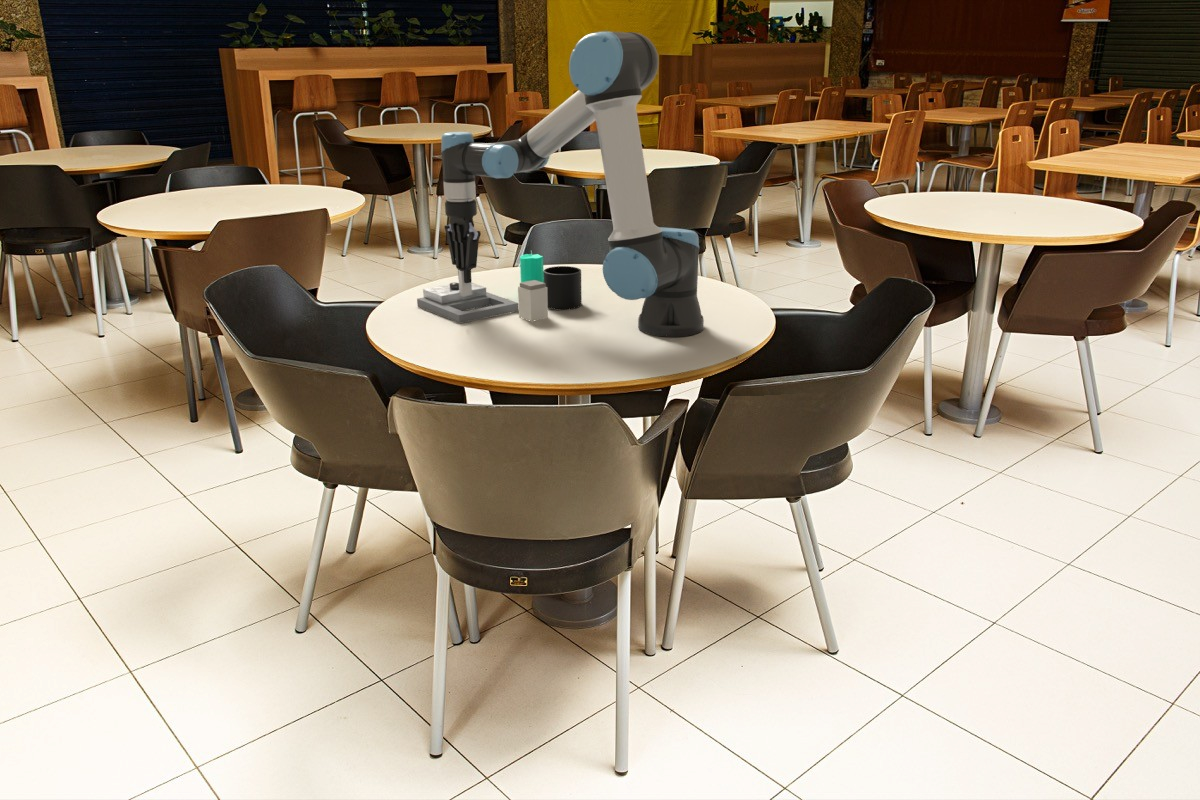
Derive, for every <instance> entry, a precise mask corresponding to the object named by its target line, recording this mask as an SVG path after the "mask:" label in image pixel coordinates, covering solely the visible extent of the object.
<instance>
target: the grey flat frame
mask: <svg viewBox="0 0 1200 800" xmlns="http://www.w3.org/2000/svg"><path fill="white" fill-rule="evenodd" d="M416 304H417V305H416V306H417V307H418V308H420V309H423V310H426V311H428V312H430V313H433V314H436V315H438V316H440V317H443V318H445V319H448V320H449V321H453V322H455V323H457V324H462V323H467V322H468V323H469V322H473V321H477V320H478V321H479V320H482V319H486V318H491V317H492V318H493V317H496V316H501V315H506V314H511V313H516V312H519V302H516V301H513V300H510V299H508V298H506V297H502V296H500V295H498V294H497V295H496V294H493V293H490V292H487V291H486V295H485V296H480V297H475V298H470V299H465V300H460V301H455V302H450V303H444V304H441V303H438V302H436V301H433V300H430V299H428V298H425V297H424V296H423V297H419V298H416ZM515 311H516V312H515ZM510 312H511V313H510Z"/></svg>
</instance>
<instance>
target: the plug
mask: <svg viewBox="0 0 1200 800" xmlns="http://www.w3.org/2000/svg"><path fill="white" fill-rule="evenodd" d="M517 295H518V297H517V298H518V308H519V311H518V318H520V317H522V318H521V319H523V318H524V319H523V320H526V319H527V320H526V321H528V320H530V321H529V322H535V321H534V320H536V321H540V320H544V319H543V318H545V319H548V318H549V308H548V295H547V287H546V285H545V283H543V282H540V281H536V280H532V281H527V282H521V281H520V282H519V286H517ZM539 319H540V320H539Z"/></svg>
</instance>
